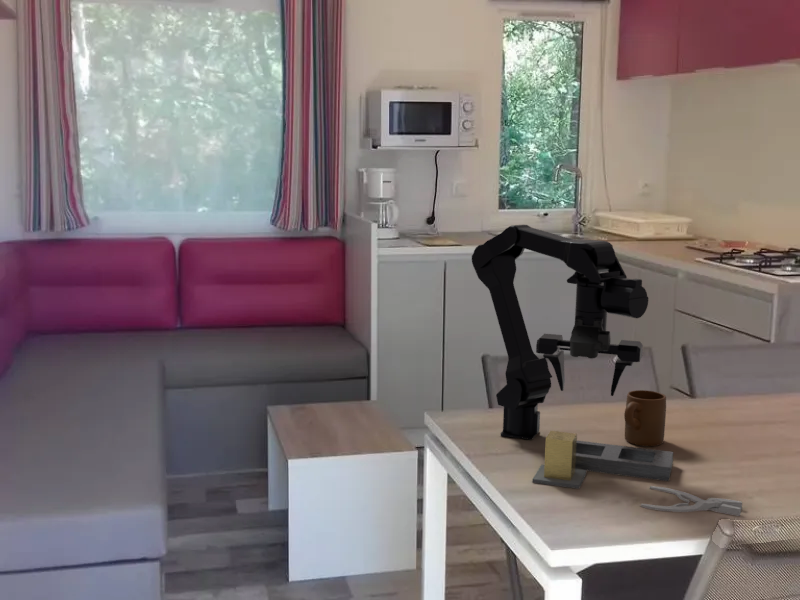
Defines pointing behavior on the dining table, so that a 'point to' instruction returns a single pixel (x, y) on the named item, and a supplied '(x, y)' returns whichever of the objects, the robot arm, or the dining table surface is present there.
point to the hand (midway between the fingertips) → (587, 392)
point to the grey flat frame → (624, 460)
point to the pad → (574, 482)
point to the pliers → (697, 503)
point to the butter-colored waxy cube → (560, 455)
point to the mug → (645, 418)
